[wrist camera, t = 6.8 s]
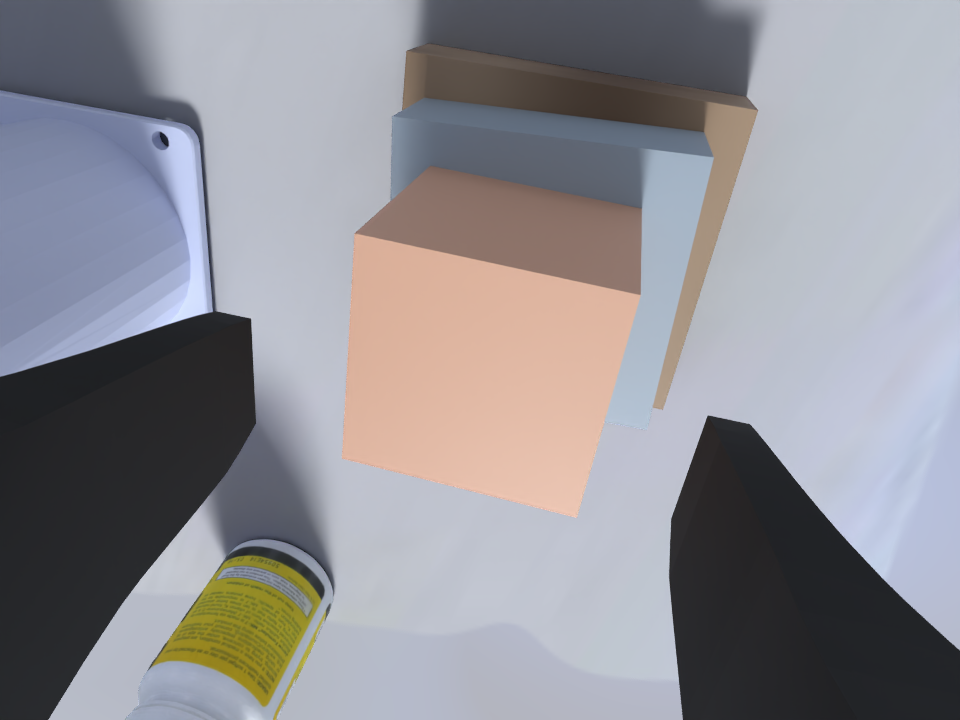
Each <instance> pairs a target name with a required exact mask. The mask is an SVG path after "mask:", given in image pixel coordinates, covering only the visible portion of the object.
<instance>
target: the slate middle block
mask: <svg viewBox="0 0 960 720" xmlns="http://www.w3.org/2000/svg"><path fill="white" fill-rule="evenodd" d="M713 160H714V156H713V154H712V151H711V148H710V146H709V143H708V141H707V138H706V135H705V133H704V132H700V131H691V130H683V129H675V128H667V127H659V126H651V125H643V124H635V123H626V122H618V121H610V120H602V119H594V118H586V117H578V116H570V115H561V114H553V113H545V112H537V111H529V110H521V109H513V108H505V107H496V106H488V105H480V104H472V103H464V102H456V101H447V100H439V99H431V98H423V99H421V100H420V101H418V102H416V103H414V104H413V105H411V106H409V107H408V108H406V109H404V110H402V111H401V112H399V113H397V114H396V115H394V116H392V156H391V200H393V199H394V198H395V197H396V196H397V195H398V194H399V193H400V192H401V191H403V190H404V189H405V188H406V187H407V186H408V185H409V184H410V183H412V182H413V181H414V180H415V179H416V178H417V177H418V176H419V175H420V174H422V173H423V172H424V171H425V170H426V169H427V168H428V167H429V166H434V167H439V168H444V169H449V170H454V171H459V172H464V173H469V174H474V175H479V176H484V177H488V178H493V179H498V180H503V181H508V182H513V183H518V184H523V185H528V186H533V187H538V188H543V189H548V190H553V191H558V192H563V193H568V194H573V195H578V196H582V197H587V198H592V199H597V200H602V201H607V202H612V203H617V204H622V205H627V206H632V207H637V208H641V209H642V244H641V296H640V300H639V303H638V307H637V310H636V314H635V317H634V321H633V324H632V328H631V331H630V335H629V338H628V342H627V345H626V348H625V352H624V355H623V359H622V362H621V366H620V369H619V373H618V376H617V380H616V383H615V387H614V390H613V394H612V397H611V401H610V404H609V408H608V411H607V415H606V418H605V421H604V422H605V423H610V424H616V425H622V426H627V427H633V428H638V429H644V430H647V428H648V424H649V420H650V416H651V412H652V408H653V404H654V400H655V395H656V391H657V387H658V383H659V379H660V375H661V371H662V367H663V363H664V359H665V355H666V351H667V347H668V343H669V339H670V334H671V330H672V326H673V322H674V318H675V314H676V310H677V306H678V302H679V298H680V294H681V290H682V286H683V282H684V278H685V273H686V269H687V265H688V261H689V257H690V253H691V249H692V245H693V241H694V237H695V233H696V229H697V225H698V221H699V217H700V212H701V208H702V204H703V200H704V196H705V192H706V188H707V184H708V180H709V176H710V172H711V168H712V164H713Z"/></svg>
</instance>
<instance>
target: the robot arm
mask: <svg viewBox="0 0 960 720" xmlns="http://www.w3.org/2000/svg"><path fill="white" fill-rule="evenodd" d="M160 132H162V133H164V134H165V135H166V136H167V137H168V141H169V147H168V146H166V145H164V144H163V142H162V141H161V138H160ZM255 424H256V415H255V394H254V373H253V352H252V331H251V319H249V318H245V317H240V316H235V315H231V314H226V313H221V312H216V311H214V312H213V308H212V295H211V282H210V269H209V256H208V244H207V231H206V218H205V205H204V192H203V179H202V167H201V154H200V143H199V139H198V136H197V135H196V133H195V132H194V130H193V129H191V128H190V127H189V126H187V125H185V124H182V123H177V122H172V121H166V120H161V119H155V118H150V117H144V116H139V115H133V114H128V113H122V112H117V111H111V110H106V109H100V108H95V107H89V106H84V105H78V104H73V103H67V102H62V101H56V100H51V99H45V98H40V97H34V96H29V95H23V94H18V93H12V92H7V91H1V90H0V720H48V719H49V718H50V716H51V714H52V713H53V711H54V709H55V708H56V706H57V705H58V703H59V701H60V700H61V698H62V696H63V695H64V693H65V692H66V690H67V688H68V687H69V685H70V683H71V682H72V680H73V678H74V677H75V675H76V674H77V672H78V670H79V669H80V667H81V666H82V664H83V662H84V661H85V659H86V658H87V656H88V655H89V653H90V651H91V650H92V649H93V647H94V645H95V644H96V643H97V641H98V640H99V638H100V636H101V635H102V633H103V632H104V630H105V629H106V627H107V626H108V624H109V623H110V621H111V620H112V618H113V617H114V615H115V614H116V612H117V611H118V609H119V608H120V606H121V605H122V603H123V602H124V600H125V599H126V598H127V597H128V595H129V594H130V593H131V591H132V590H133V589H134V587H135V586H136V585H137V583H138V582H139V581H140V579H141V578H142V577H143V575H144V574H145V573H146V572H147V571H148V569H149V568H150V567H151V566H152V564H153V563H154V562H155V561H156V560H157V558H158V557H159V556H160V555H161V553H162V552H163V551H164V550H165V549H166V547H167V546H168V545H169V544H170V542H171V541H172V540H173V539H174V538H175V536H176V535H177V534H178V533H179V531H180V530H181V529H182V528H183V527H184V525H185V524H186V523H187V522H188V521H189V519H190V518H191V517H192V516H193V514H194V513H195V512H196V511H197V510H198V508H199V507H200V506H201V505H202V503H203V502H204V501H205V500H206V498H207V497H208V496H209V495H210V493H211V492H212V491H213V490H214V488H215V487H216V486H217V485H218V483H219V482H220V481H221V479H222V478H223V477H224V476H225V474H226V473H227V471H228V470H229V468H230V467H231V465H232V463H233V462H234V460H235V459H236V457H237V455H238V454H239V452H240V451H241V449H242V447H243V445H244V443H245V442H246V440H247V438H248V436H249V435H250V433H251V431H252V429H253V428H254V426H255ZM669 581H670V592H671V603H672V614H673V625H674V635H675V645H676V655H677V665H678V675H679V685H680V695H681V704H682V715H683V720H960V650H959V649H957V648H956V647H955V646H954V645H953V644H952V643H950V642H949V641H948V640H947V639H946V638H945V637H944V636H943V635H942V634H940V633H939V632H938V631H937V630H936V629H935V628H934V627H933V626H932V625H931V624H930V623H929V622H927V621H926V620H925V619H924V618H923V617H922V616H921V615H920V614H919V613H918V612H917V611H915V609H913V608H912V607H911V606H910V605H909V604H908V603H907V602H906V601H905V600H904V599H903V598H902V597H901V596H899V594H898V593H896V592H895V590H894V589H893V588H892V587H890V586H889V585H888V584H887V583H886V582H885V581H884V580H883V579H882V578H881V576H880V575H879V574H878V573H877V572H876V571H875V570H874V569H873V568H872V567H871V566H870V565H869V564H868V563H867V562H866V561H865V560H864V558H863V557H862V556H861V555H860V554H859V553H858V552H857V551H856V550H855V549H854V548H853V547H852V546H851V545H850V544H849V543H848V541H847V540H846V539H845V538H844V537H843V536H842V535H841V534H840V532H839V531H838V530H837V529H836V528H835V527H834V526H833V525H832V523H831V522H830V521H829V520H828V519H827V518H826V516H825V515H824V514H823V513H822V512H821V511H820V509H819V508H818V507H817V506H816V505H815V503H814V502H813V501H812V500H811V499H810V497H809V496H808V495H807V494H806V493H805V491H804V490H803V489H802V488H801V486H800V485H799V484H798V483H797V482H796V480H795V479H794V478H793V477H792V475H791V474H790V473H789V471H788V470H787V469H786V468H785V466H784V465H783V464H782V463H781V461H780V460H779V459H778V458H777V456H776V455H775V454H774V453H773V451H772V450H771V449H770V448H769V446H768V445H767V444H766V443H765V441H764V440H763V439H762V438H761V436H760V435H759V434H758V433H757V432H756V431H755V429H754V428H753V427H752V426H751V425H750V424H746V423H741V422H736V421H732V420H727V419H722V418H718V417H713V416H708V417H707V419H706V422H705V425H704V428H703V431H702V434H701V436H700V439H699V442H698V445H697V448H696V451H695V453H694V456H693V459H692V462H691V465H690V468H689V470H688V473H687V476H686V479H685V482H684V484H683V487H682V490H681V493H680V496H679V499H678V501H677V504H676V507H675V510H674V513H673V516H672V518H671V539H670V568H669Z"/></svg>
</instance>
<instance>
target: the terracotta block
mask: <svg viewBox="0 0 960 720" xmlns="http://www.w3.org/2000/svg"><path fill="white" fill-rule="evenodd" d="M641 244H642V209H641V208H637V207H632V206H627V205H622V204H617V203H612V202H607V201H602V200H597V199H592V198H587V197H582V196H578V195H573V194H568V193H563V192H558V191H553V190H548V189H543V188H538V187H533V186H528V185H523V184H518V183H513V182H508V181H503V180H498V179H493V178H488V177H484V176H479V175H474V174H469V173H464V172H459V171H454V170H449V169H444V168H439V167H434V166H429V167H428V168H427V169H426V170H425V171H424V172H423V173H422V174H420V175H419V176H418V177H417V178H416V179H415V180H414V181H413V182H412V183H410V184H409V185H408V186H407V187H406V188H405V189H404V190H403V191H401V192H400V193H399V194H398V195H397V196H396V197H395V198H394V199H393V200H391V201H390V202H389V203H388V204H387V205H386V206H385V207H384V208H383V209H381V210H380V211H379V212H378V213H377V214H376V215H375V216H374V217H372V218H371V219H370V220H369V221H368V222H367V223H366V224H365V225H364V226H362V227H361V228H360V229H359V230H358V231H357V232H356V233H355V237H354V255H353V273H352V291H351V308H350V326H349V344H348V362H347V379H346V397H345V415H344V433H343V450H342V459H346V460H350V461H354V462H358V463H362V464H366V465H370V466H374V467H378V468H382V469H386V470H390V471H394V472H398V473H401V474H405V475H409V476H413V477H417V478H421V479H425V480H429V481H433V482H437V483H441V484H445V485H449V486H453V487H457V488H461V489H465V490H469V491H473V492H477V493H481V494H485V495H489V496H493V497H497V498H501V499H505V500H509V501H513V502H517V503H520V504H524V505H528V506H532V507H536V508H540V509H544V510H548V511H552V512H556V513H560V514H564V515H568V516H572V517H576V518H577V515H578V512H579V508H580V505H581V501H582V498H583V494H584V491H585V487H586V484H587V481H588V477H589V474H590V470H591V467H592V463H593V460H594V456H595V453H596V449H597V446H598V442H599V439H600V435H601V432H602V428H603V425H604V421H605V418H606V415H607V411H608V408H609V404H610V401H611V397H612V394H613V390H614V387H615V383H616V380H617V376H618V373H619V369H620V366H621V362H622V359H623V355H624V352H625V348H626V345H627V342H628V338H629V335H630V331H631V328H632V324H633V321H634V317H635V314H636V310H637V307H638V303H639V300H640V296H641Z"/></svg>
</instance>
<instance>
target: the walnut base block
mask: <svg viewBox="0 0 960 720" xmlns="http://www.w3.org/2000/svg"><path fill="white" fill-rule="evenodd" d="M423 98H431V99H439V100H447V101H456V102H464V103H472V104H480V105H488V106H496V107H505V108H513V109H521V110H529V111H537V112H545V113H553V114H561V115H570V116H578V117H586V118H594V119H602V120H610V121H618V122H626V123H635V124H643V125H651V126H659V127H667V128H675V129H683V130H691V131H700V132H704V133H705V135H706V138H707V141H708V143H709V146H710V148H711V151H712V154H713V156H714V160H713V164H712V168H711V172H710V176H709V180H708V184H707V188H706V192H705V196H704V200H703V204H702V208H701V212H700V217H699V221H698V225H697V229H696V233H695V237H694V241H693V245H692V249H691V253H690V257H689V261H688V265H687V269H686V273H685V278H684V282H683V286H682V290H681V294H680V298H679V302H678V306H677V310H676V314H675V318H674V322H673V326H672V330H671V334H670V339H669V343H668V347H667V351H666V355H665V359H664V363H663V367H662V371H661V375H660V379H659V383H658V387H657V391H656V395H655V400H654V404H653V408H657V409H662V410H663V408H664V405H665V401H666V398H667V395H668V392H669V389H670V386H671V383H672V379H673V376H674V373H675V370H676V367H677V364H678V361H679V357H680V354H681V351H682V348H683V345H684V342H685V339H686V335H687V332H688V329H689V326H690V323H691V320H692V317H693V313H694V310H695V307H696V304H697V301H698V298H699V295H700V291H701V288H702V285H703V282H704V279H705V276H706V273H707V269H708V266H709V263H710V260H711V257H712V254H713V251H714V247H715V244H716V241H717V238H718V235H719V232H720V229H721V226H722V222H723V219H724V216H725V213H726V210H727V207H728V204H729V200H730V197H731V194H732V191H733V188H734V185H735V182H736V178H737V175H738V172H739V169H740V166H741V163H742V160H743V156H744V153H745V150H746V147H747V144H748V141H749V138H750V134H751V131H752V128H753V125H754V122H755V119H756V116H757V112H758V110H757V108H756V107H755V106H754V105H753V104H752V103H751V101H750V100H749V99H748V98H747V97H745V96H739V95H733V94H727V93H721V92H715V91H710V90H704V89H698V88H692V87H686V86H680V85H674V84H668V83H662V82H656V81H650V80H644V79H638V78H632V77H626V76H620V75H614V74H608V73H602V72H596V71H590V70H584V69H578V68H572V67H566V66H560V65H554V64H548V63H542V62H536V61H530V60H524V59H518V58H513V57H507V56H501V55H495V54H489V53H483V52H477V51H471V50H465V49H459V48H453V47H447V46H441V45H435V44H429V43H428V44H425V45H422V46H419V47H416V48H413V49H410V50H408V51H406V64H405V79H404V93H403V107H402V110H404V109H406V108H408V107H409V106H411V105H413V104H414V103H416V102H418V101H420V100H421V99H423Z"/></svg>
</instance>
